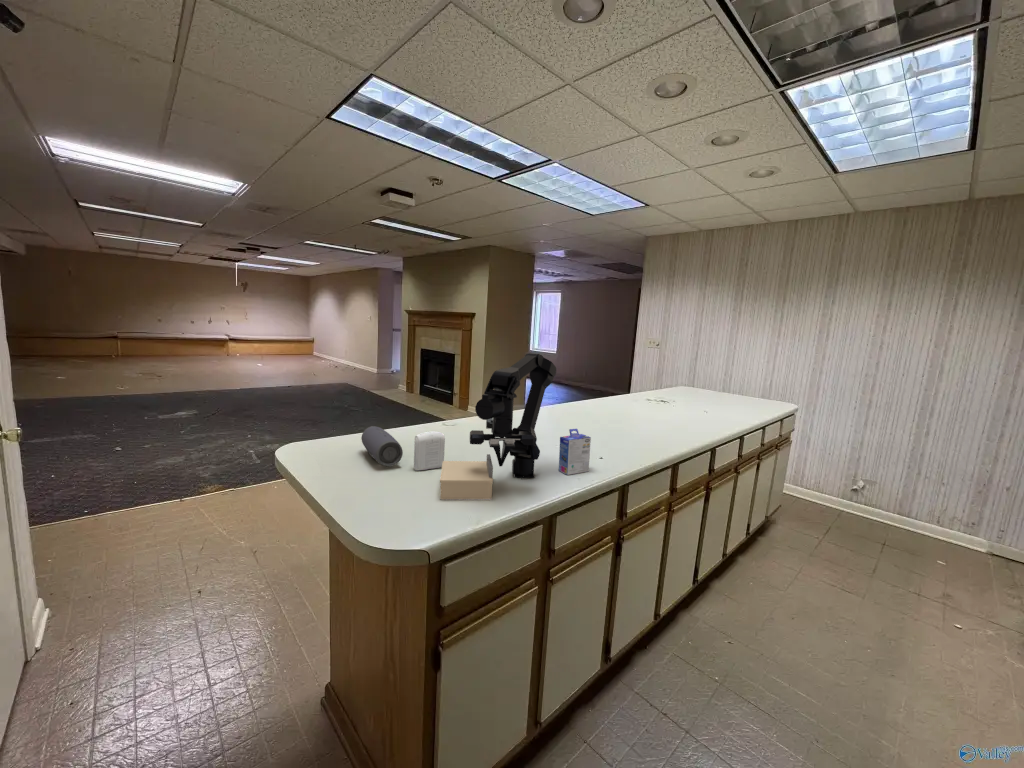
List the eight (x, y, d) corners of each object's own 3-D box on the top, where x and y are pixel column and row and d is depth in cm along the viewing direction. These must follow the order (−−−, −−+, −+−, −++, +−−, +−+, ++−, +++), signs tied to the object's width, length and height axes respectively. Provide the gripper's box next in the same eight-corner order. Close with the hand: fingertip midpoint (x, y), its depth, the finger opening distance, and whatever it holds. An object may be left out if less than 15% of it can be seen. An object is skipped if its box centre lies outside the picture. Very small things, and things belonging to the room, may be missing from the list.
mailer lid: (489, 463, 130) (489, 452, 130) (493, 482, 114) (493, 470, 114) (442, 462, 128) (443, 451, 128) (440, 482, 112) (440, 469, 112)
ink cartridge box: (579, 466, 147) (582, 427, 145) (589, 471, 143) (592, 430, 141) (557, 470, 142) (559, 429, 140) (567, 475, 137) (570, 433, 136)
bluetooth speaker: (404, 468, 137) (405, 438, 135) (375, 472, 132) (375, 441, 131) (385, 449, 156) (385, 423, 154) (359, 452, 151) (359, 425, 150)
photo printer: (440, 463, 143) (441, 428, 141) (445, 467, 139) (446, 431, 138) (411, 468, 137) (412, 431, 135) (416, 472, 133) (417, 434, 132)
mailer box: (487, 478, 131) (488, 463, 130) (491, 499, 115) (492, 482, 114) (442, 478, 129) (443, 463, 128) (440, 499, 113) (440, 482, 112)
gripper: (530, 409, 129) (527, 457, 131) (470, 408, 127) (468, 457, 129) (536, 417, 118) (533, 469, 120) (471, 415, 116) (469, 469, 118)
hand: (500, 466), depth 122 cm, fingers closed
